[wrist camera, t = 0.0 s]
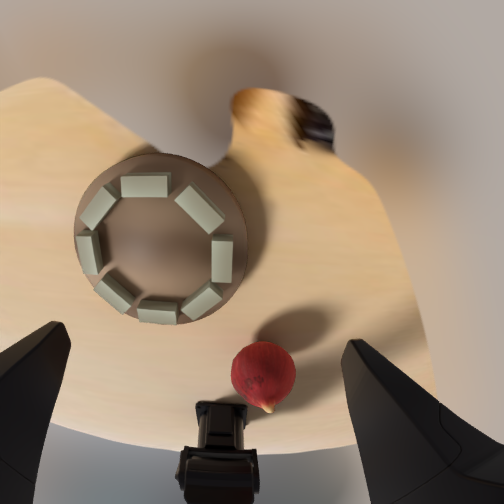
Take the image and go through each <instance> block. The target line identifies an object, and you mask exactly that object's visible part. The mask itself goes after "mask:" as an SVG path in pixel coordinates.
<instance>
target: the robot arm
mask: <svg viewBox="0 0 504 504" xmlns="http://www.w3.org/2000/svg"><path fill="white" fill-rule="evenodd" d="M70 349H71V341H70V338H69V335H68V333H67V330H66V328H65V325H64V324H63V323H62V322H58V321H51V322H49V323H47V324H46V325H44V326H43V327H41V328H39V329H38V330H36V331H34V332H33V333H31V334H30V335H28V336H26V337H25V338H23V339H21V340H20V341H18V342H17V343H15V344H14V345H12V346H10V347H9V348H7V349H6V350H4V351H3V352H1V353H0V504H33V497H34V491H35V483H36V479H37V473H38V468H39V463H40V458H41V454H42V450H43V446H44V441H45V438H46V434H47V430H48V426H49V423H50V419H51V416H52V412H53V409H54V406H55V403H56V400H57V397H58V394H59V390H60V387H61V384H62V380H63V376H64V372H65V368H66V364H67V360H68V356H69V352H70ZM341 366H342V372H343V378H344V385H345V391H346V398H347V404H348V409H349V413H350V417H351V420H352V424H353V428H354V432H355V436H356V440H357V444H358V448H359V452H360V456H361V460H362V464H363V469H364V474H365V478H366V482H367V487H368V491H369V496H370V501H371V504H504V445H503V444H500V443H498V442H496V441H495V440H493V439H491V438H490V437H488V436H487V435H485V434H484V433H482V432H481V431H479V430H478V429H476V428H474V427H473V426H471V425H470V424H468V423H467V422H466V421H464V420H463V419H461V418H460V417H458V416H457V415H456V414H454V413H453V412H452V411H451V410H449V409H448V408H447V407H446V406H444V405H443V404H442V403H439V401H438V400H437V399H436V398H434V397H433V396H432V395H431V394H430V393H428V392H427V391H426V390H425V389H423V388H422V387H421V386H420V385H418V384H417V383H416V382H415V381H413V380H412V379H411V378H410V377H409V376H407V375H406V374H405V373H404V372H402V371H401V370H400V369H399V368H397V367H396V366H395V365H394V364H393V363H391V362H390V361H389V360H388V359H386V358H385V357H384V356H383V355H381V354H380V353H379V352H378V351H376V350H375V349H374V348H373V347H372V346H370V345H369V344H368V343H367V342H365V341H364V340H363V339H351V340H349V341H348V343H347V345H346V348H345V350H344V353H343V356H342V359H341ZM195 408H196V414H197V420H198V426H199V435H198V448H196V447H189V446H184V450H182V451H181V455H180V462H179V465H178V468H177V471H176V474H175V479H176V480H177V481H178V482H179V485H180V489H181V490H182V491H184V499H185V501H186V502H187V504H253V503H254V494H259V487H260V486H259V485H260V482H259V481H260V479H259V468H258V460H257V451H256V449H252V450H244V433H243V430H244V429H245V425H246V416H247V406H246V405H232V404H209V403H196V406H195Z"/></svg>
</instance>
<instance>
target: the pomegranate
mask: <svg viewBox="0 0 504 504" xmlns="http://www.w3.org/2000/svg"><path fill="white" fill-rule="evenodd" d="M295 377H296V369H295V365H294V362H293V359H292V357H291V356H290V355H289V354H288V353H287V352H286V351H285V350H284V349H283V348H282V347H280V346H278V345H276V344H274V343H271V342H264V341H260V342H255V343H252V344H250V345H248V346H246V347H244V348H243V349H242V350H241V351H240V352H239V353H238V354H237V355H236V357H235V358H234V359H233V363H232V369H231V381H232V384H233V386H234V388H235V390H236V391H237V392H238V393H239V394H240V395H241V396H242V397H243V398H244V399H245V400H246V401H247V402H248V403H250V404H252V405H254V406H257V407H260V408H262V409H264V410H265V411H266V412H267V413H273V412H274V411H275V410H274V407H275V405H276V404H278V403H279V402H281V401H282V400H283V399H284V398H285V397H286V396H287V395H288V394H289V393H290V391H291V389H292V387H293V384H294V381H295Z"/></svg>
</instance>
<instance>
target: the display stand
mask: <svg viewBox="0 0 504 504" xmlns="http://www.w3.org/2000/svg"><path fill="white" fill-rule="evenodd" d="M74 242H75V249H76V253H77V257H78V260H79V262H80V265H81V267H82V270H83V274H85V275H86V277H87V279H88V280H89V282H90V283H91V284H92V286H93V287H94V289H93V290H94V291H95V292H96V293H97V294H99V295H100V296H101V297H102V298H103V299H104V300H105V301H107V302H108V303H109V304H110V305H111V306H113V307H114V308H115V309H116V310H117V311H119V312H120V313H121V314H122V315H123V314H124V313H125V314H127V315H129V316H132V317H134V318H137V319H139V322H145V323H155V324H163V325H177V324H185V323H190V322H194V321H197V320H200V319H202V318H205V317H207V316H209V315H211V314H212V313H214V312H215V311H217V310H218V309H220V308H221V307H222V306H223V305H224V304H226V303H227V302H228V300H229V299H230V298H231V297H232V296H233V295H234V293H235V292H236V290H237V288H238V287H239V285H240V283H241V281H242V278H243V276H244V272H245V269H246V264H247V257H248V243H247V231H246V224H245V220H244V216H243V213H242V210H241V208H240V206H239V204H238V201H237V200H236V198H235V196H234V195H233V193H232V192H231V190H230V189H229V188H228V187H227V185H226V184H225V183H224V182H223V181H222V180H221V179H220V178H219V177H218V176H217V175H216V174H215V173H213V172H212V171H211V170H209V169H208V168H206V167H205V166H203V165H201V164H199V163H197V162H195V161H193V160H191V159H188V158H185V157H182V156H179V155H173V154H168V153H151V154H143V155H139V156H135V157H132V158H130V159H127V160H125V161H123V162H120V163H118V164H116V165H114V166H112V167H110V168H109V169H107V170H105V171H104V172H103V173H101V174H100V175H99V176H98V177H97V178H96V179H95V180H94V181H93V182H92V183H91V184H90V186H89V187H88V188H87V190H86V191H85V193H84V195H83V196H82V198H81V201H80V203H79V205H78V208H77V212H76V216H75V222H74Z"/></svg>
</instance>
